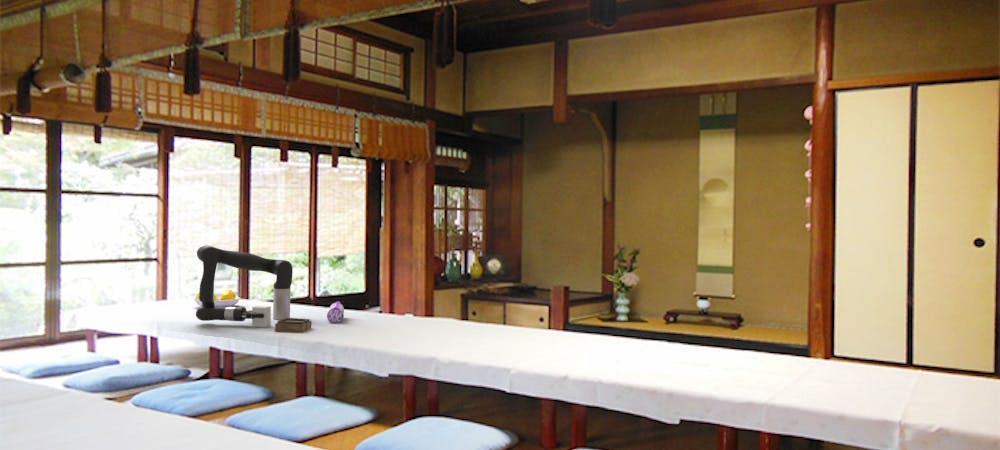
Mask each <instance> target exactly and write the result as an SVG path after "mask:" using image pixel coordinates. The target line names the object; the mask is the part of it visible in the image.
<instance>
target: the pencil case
mask: <svg viewBox="0 0 1000 450" xmlns="http://www.w3.org/2000/svg"><path fill="white" fill-rule="evenodd" d="M344 313H345V308H344V305H343V304H342V303H341V301H335V302H334V303H331V305H330V306H329V309H328V310H327V314H326V318H327V321H328V322H329V323H331V324H339V323H341V321H343V319H344V316H345V314H344Z"/></svg>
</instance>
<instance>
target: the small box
mask: <svg viewBox="0 0 1000 450" xmlns="http://www.w3.org/2000/svg"><path fill="white" fill-rule="evenodd" d="M271 308H272V307H271V305H256V306H252V312H253V313H257V314H264V318H254V319H251V324H252V325H251V327H252V328H268V327H271V326H272V324H271V322H272V319H271V318H272V309H271Z"/></svg>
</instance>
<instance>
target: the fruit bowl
mask: <svg viewBox="0 0 1000 450" xmlns="http://www.w3.org/2000/svg"><path fill="white" fill-rule="evenodd" d="M240 299H241V296H240V297H239V296H236V293H235V292H234V291H233V290H232V289H230V290H224V291H223V292H222V293H221V294H220V295H216V294H214V295H213V300H214V305H215V308H218V307H234V306H235V305H237V304H238V303H239V301H240ZM193 300H194V301H195V303H196V304H197V305H198V306H200V307H202V302H201V301H200V300H199V292H198V293H197V294H196V296H195V297H194V298H193Z"/></svg>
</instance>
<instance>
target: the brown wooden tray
mask: <svg viewBox="0 0 1000 450" xmlns="http://www.w3.org/2000/svg"><path fill="white" fill-rule="evenodd" d="M274 325H275V326H274V333H299V332H302V333H304V332H307V331H309V330H310V329H312V320H310V318H291V317H290V318H285V319H279V321H277V322H276V323H274Z"/></svg>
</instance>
